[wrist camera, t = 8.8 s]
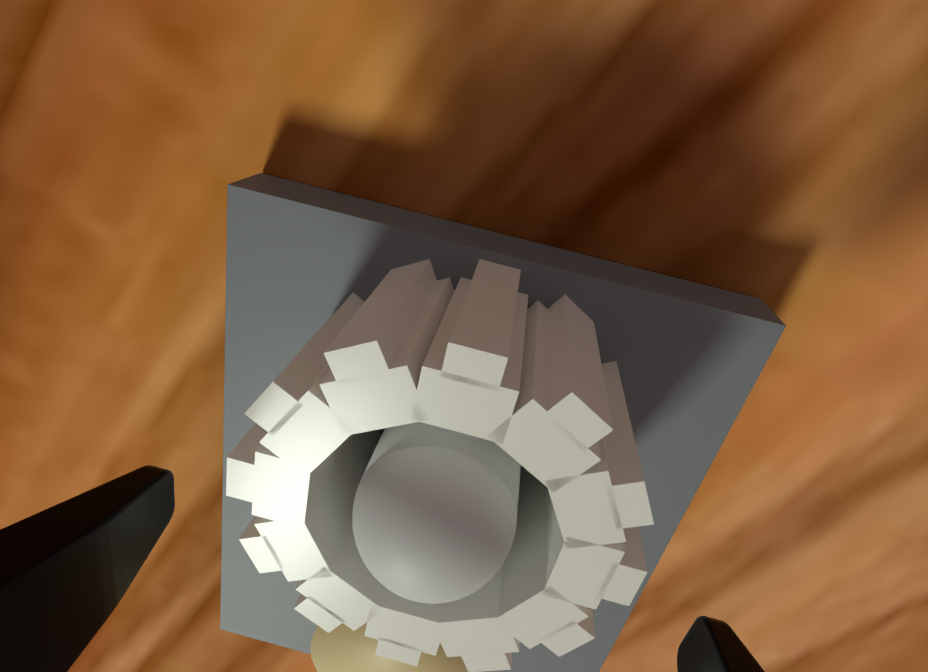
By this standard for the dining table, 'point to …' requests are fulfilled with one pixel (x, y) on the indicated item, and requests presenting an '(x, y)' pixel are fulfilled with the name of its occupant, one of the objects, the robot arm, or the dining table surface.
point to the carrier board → (356, 255)
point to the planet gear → (466, 411)
